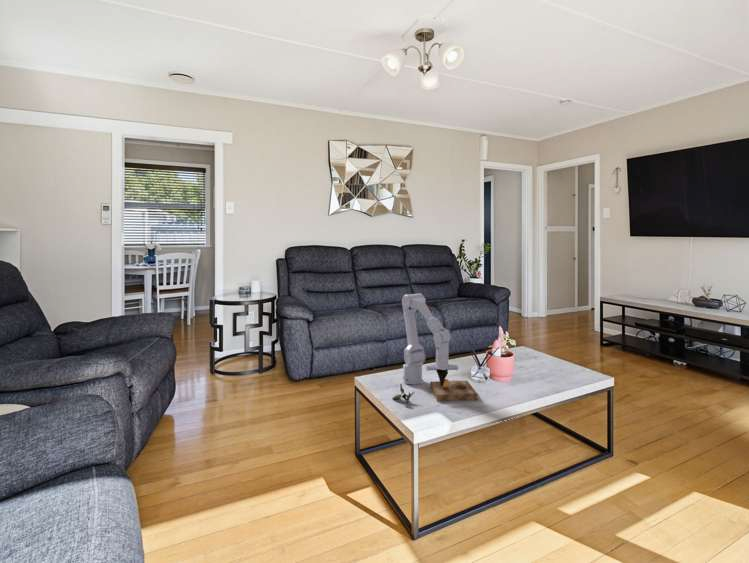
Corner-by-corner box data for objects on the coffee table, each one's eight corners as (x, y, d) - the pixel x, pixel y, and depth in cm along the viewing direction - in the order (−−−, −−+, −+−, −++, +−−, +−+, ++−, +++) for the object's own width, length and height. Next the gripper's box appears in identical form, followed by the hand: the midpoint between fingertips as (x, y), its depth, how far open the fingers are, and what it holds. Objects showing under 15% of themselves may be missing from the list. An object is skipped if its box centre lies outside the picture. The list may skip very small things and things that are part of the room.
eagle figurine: (416, 397, 179) (402, 388, 185) (412, 387, 175) (398, 378, 181) (405, 409, 175) (391, 400, 182) (401, 400, 171) (386, 390, 178)
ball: (441, 388, 183) (444, 380, 182) (439, 384, 186) (442, 376, 186) (449, 390, 183) (452, 382, 182) (447, 387, 187) (450, 379, 186)
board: (436, 401, 177) (437, 394, 176) (430, 387, 193) (430, 381, 192) (477, 400, 178) (477, 393, 177) (467, 386, 194) (467, 380, 193)
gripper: (427, 359, 179) (427, 388, 180) (460, 358, 179) (459, 388, 181) (425, 354, 186) (425, 383, 187) (456, 354, 186) (455, 382, 188)
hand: (441, 385), depth 184 cm, fingers closed, pressing on ball
